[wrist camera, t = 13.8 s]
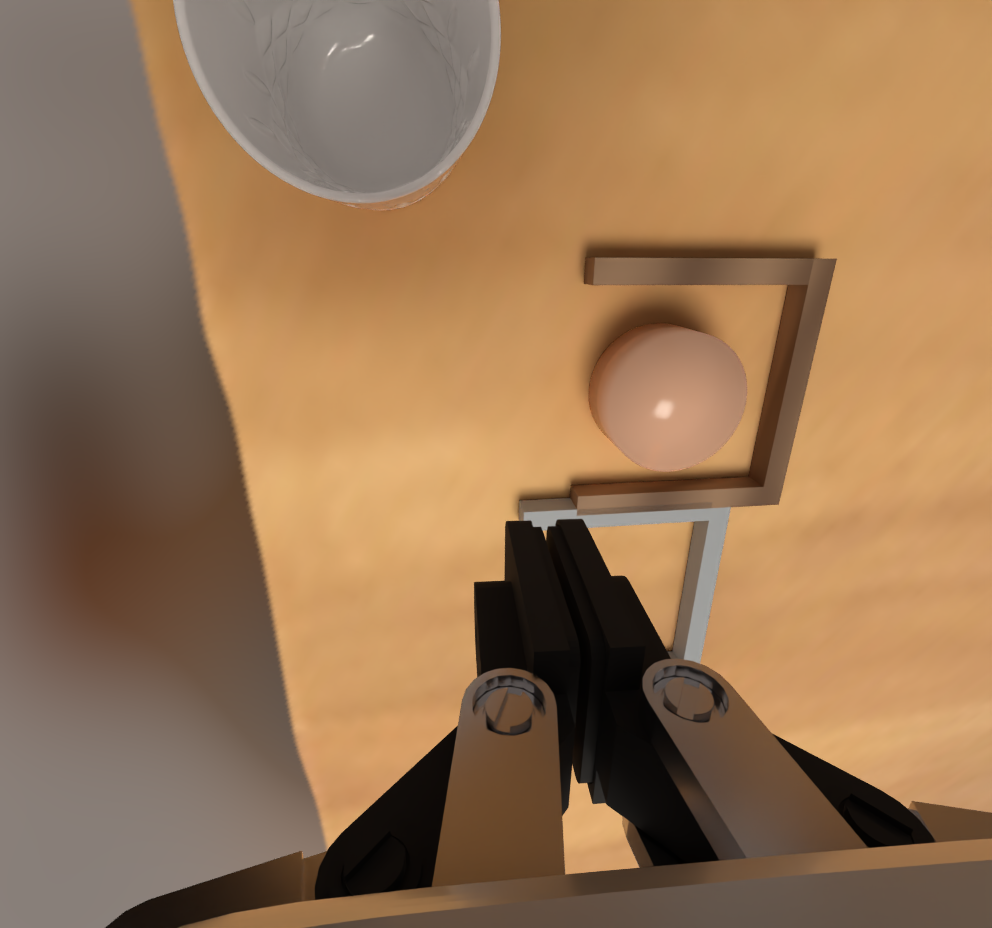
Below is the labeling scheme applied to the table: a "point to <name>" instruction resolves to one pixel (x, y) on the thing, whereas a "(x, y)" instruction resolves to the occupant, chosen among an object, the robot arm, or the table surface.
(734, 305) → the table surface
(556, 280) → the table surface
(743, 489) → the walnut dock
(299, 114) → the white cup
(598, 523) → the frame
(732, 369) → the beige flattened dome
